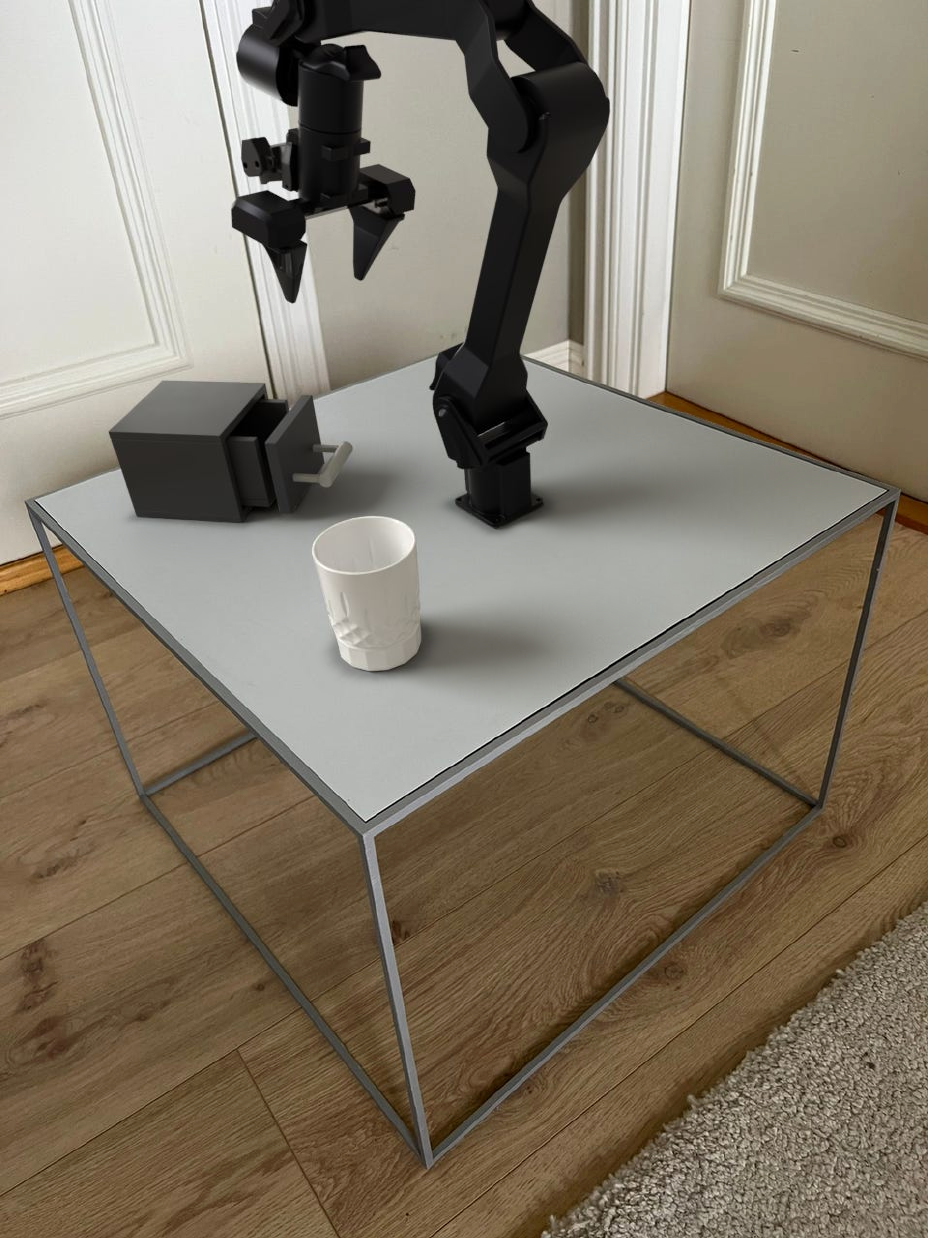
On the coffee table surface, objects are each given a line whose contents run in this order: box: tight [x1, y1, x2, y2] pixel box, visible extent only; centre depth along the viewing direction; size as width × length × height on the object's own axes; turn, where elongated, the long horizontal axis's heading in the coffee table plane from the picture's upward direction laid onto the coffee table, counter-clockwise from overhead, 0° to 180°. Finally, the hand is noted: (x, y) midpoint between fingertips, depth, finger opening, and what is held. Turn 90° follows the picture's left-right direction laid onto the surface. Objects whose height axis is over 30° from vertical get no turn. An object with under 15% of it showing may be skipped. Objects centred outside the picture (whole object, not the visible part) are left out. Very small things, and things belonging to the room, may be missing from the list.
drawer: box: [225, 394, 353, 515], centre depth 95 cm, size 15×10×8 cm
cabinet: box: [108, 379, 269, 524], centre depth 97 cm, size 12×12×10 cm
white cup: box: [311, 515, 422, 672], centre depth 74 cm, size 8×8×10 cm
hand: (325, 289), depth 95 cm, fingers open, 9 cm apart
